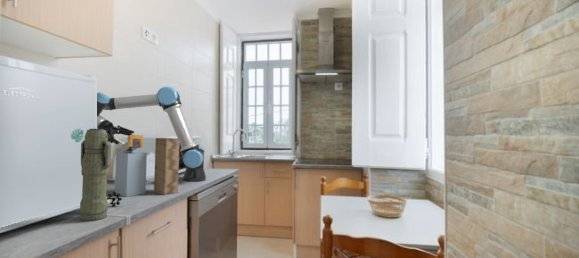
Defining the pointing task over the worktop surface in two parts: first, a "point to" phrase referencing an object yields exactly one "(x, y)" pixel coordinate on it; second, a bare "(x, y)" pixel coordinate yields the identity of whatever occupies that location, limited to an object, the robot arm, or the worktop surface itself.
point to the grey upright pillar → (130, 173)
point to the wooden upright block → (166, 166)
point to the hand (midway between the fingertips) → (132, 143)
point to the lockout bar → (132, 143)
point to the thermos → (94, 174)
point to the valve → (113, 199)
